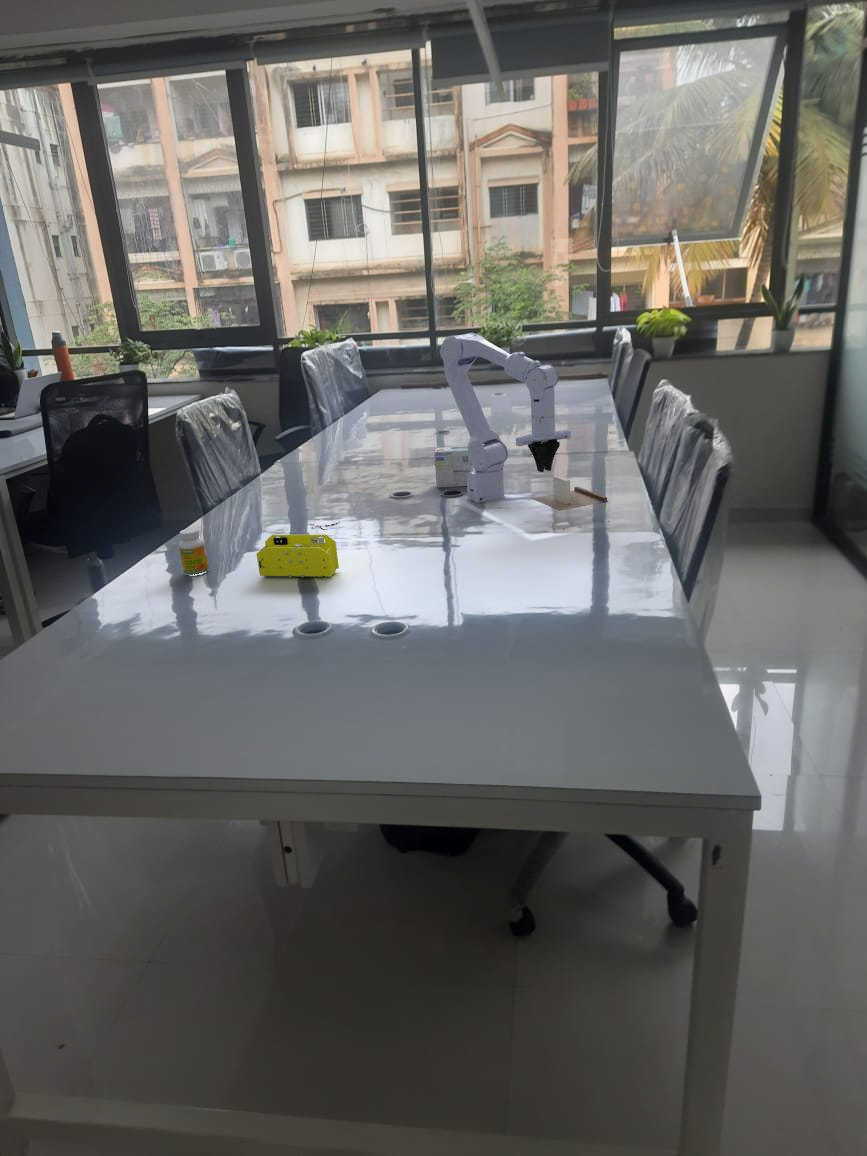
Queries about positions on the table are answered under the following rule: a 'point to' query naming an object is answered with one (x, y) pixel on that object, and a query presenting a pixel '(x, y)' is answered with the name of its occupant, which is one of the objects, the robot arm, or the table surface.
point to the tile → (561, 489)
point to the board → (573, 499)
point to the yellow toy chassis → (298, 556)
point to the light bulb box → (452, 466)
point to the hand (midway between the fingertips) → (544, 470)
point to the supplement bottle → (193, 552)
